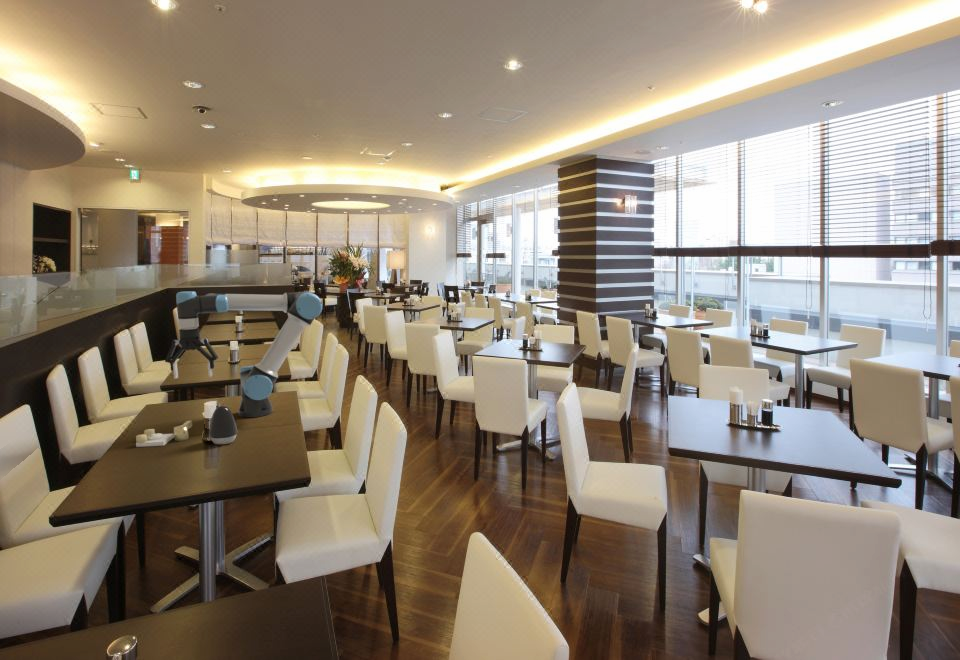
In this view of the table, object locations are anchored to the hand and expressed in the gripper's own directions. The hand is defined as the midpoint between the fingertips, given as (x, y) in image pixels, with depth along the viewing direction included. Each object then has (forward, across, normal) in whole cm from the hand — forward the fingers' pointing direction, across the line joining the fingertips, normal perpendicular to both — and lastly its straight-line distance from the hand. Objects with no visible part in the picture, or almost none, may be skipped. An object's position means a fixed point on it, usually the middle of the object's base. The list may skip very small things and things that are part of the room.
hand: (193, 377), depth 232 cm
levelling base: (+23, +11, +15) cm, 29 cm away
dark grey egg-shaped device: (+23, -16, +22) cm, 36 cm away
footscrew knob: (+22, +2, +12) cm, 25 cm away
